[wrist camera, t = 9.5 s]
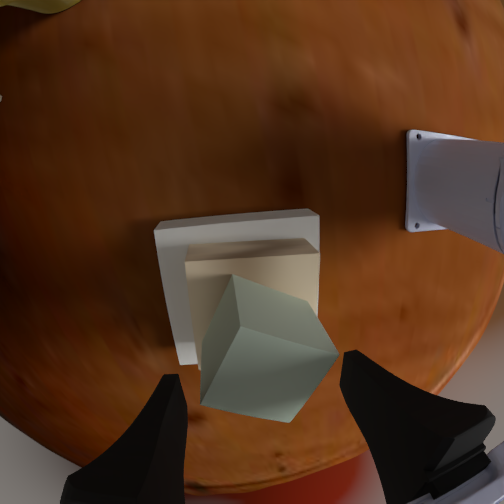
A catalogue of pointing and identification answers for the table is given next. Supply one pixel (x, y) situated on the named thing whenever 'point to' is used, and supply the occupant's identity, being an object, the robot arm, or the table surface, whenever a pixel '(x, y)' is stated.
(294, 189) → the table surface
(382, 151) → the table surface
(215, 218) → the grey base block
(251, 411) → the sage block
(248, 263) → the beech top block
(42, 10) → the plant pot
